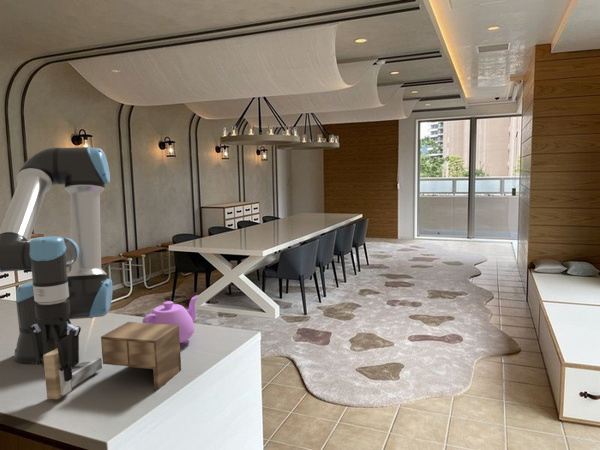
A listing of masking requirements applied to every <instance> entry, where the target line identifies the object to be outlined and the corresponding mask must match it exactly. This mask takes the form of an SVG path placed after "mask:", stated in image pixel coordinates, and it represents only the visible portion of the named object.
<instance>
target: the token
mask: <svg viewBox="0 0 600 450" xmlns="http://www.w3.org/2000/svg"><path fill="white" fill-rule="evenodd" d="M90 362H91V361H83V362H79V363H78V364H76V365H75V366H73V367H72V373H73V372H75V371H77V370H78V369H80V368H82V367H83V366H85V365H87V364H88V363H90ZM96 373H97V372H95V373H94V374H92V375H91V376H89V377H88V378H90V377H94V376H95V374H96Z"/></svg>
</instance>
